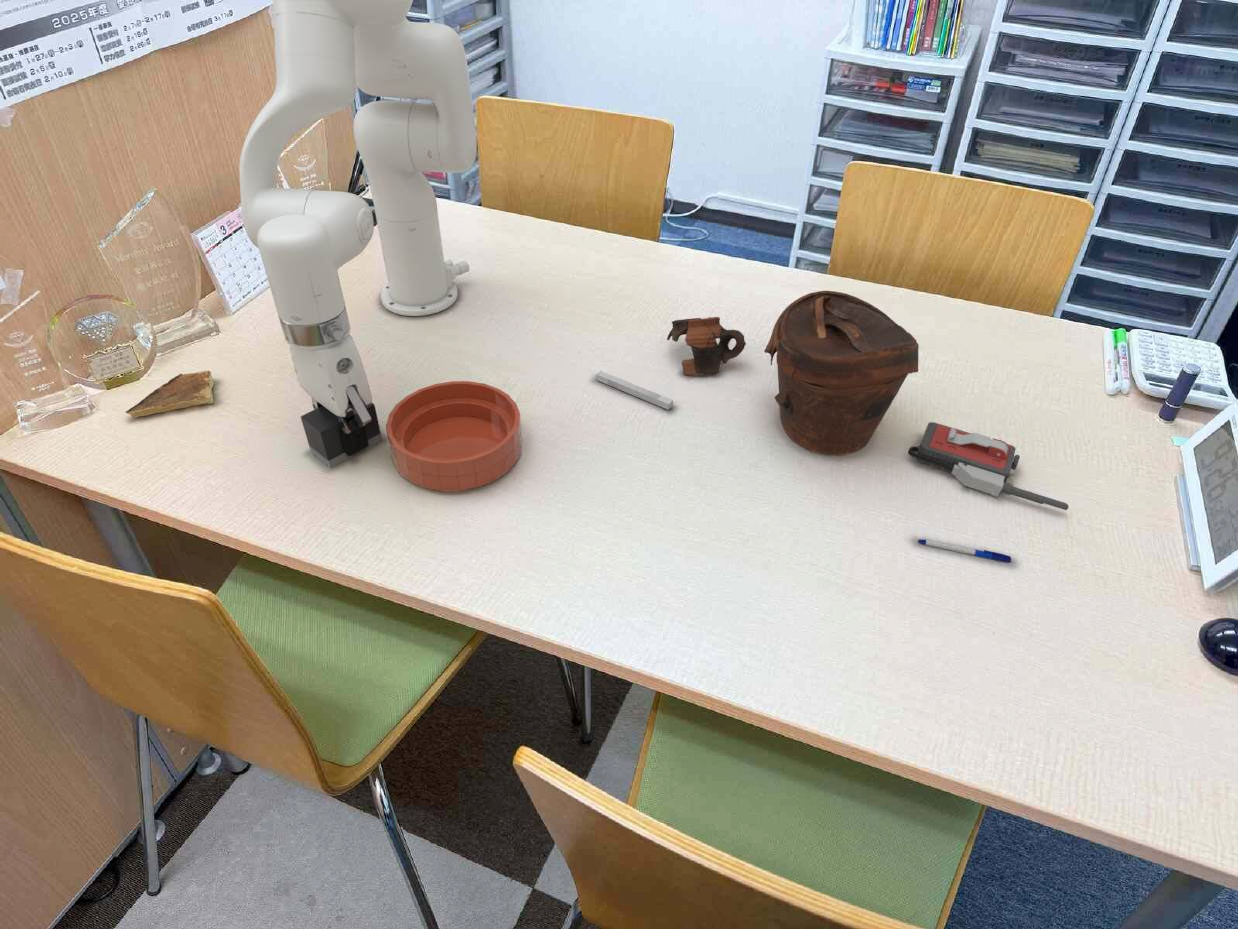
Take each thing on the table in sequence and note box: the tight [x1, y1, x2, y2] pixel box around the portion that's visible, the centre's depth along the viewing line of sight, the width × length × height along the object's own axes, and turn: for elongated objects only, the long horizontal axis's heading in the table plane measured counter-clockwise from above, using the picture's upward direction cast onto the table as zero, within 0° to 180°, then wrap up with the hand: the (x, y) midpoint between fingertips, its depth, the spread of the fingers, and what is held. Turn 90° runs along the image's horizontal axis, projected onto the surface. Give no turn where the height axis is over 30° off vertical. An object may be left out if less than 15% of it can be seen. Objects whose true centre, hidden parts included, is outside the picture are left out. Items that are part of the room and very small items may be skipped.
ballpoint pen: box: [917, 538, 1012, 563], centre depth 97 cm, size 10×1×1 cm, turn 76°
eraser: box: [300, 402, 383, 469], centre depth 107 cm, size 8×5×6 cm, turn 137°
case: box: [764, 290, 920, 456], centre depth 109 cm, size 18×20×18 cm
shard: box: [125, 370, 215, 419], centre depth 116 cm, size 11×8×2 cm
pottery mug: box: [666, 316, 747, 376], centre depth 125 cm, size 12×10×8 cm
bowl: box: [385, 380, 523, 492], centre depth 107 cm, size 17×17×6 cm
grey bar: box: [596, 370, 674, 411], centre depth 119 cm, size 12×1×1 cm, turn 56°
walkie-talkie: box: [907, 421, 1070, 511], centre depth 106 cm, size 9×4×20 cm
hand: (345, 440), depth 109 cm, fingers closed on eraser, 4 cm apart
